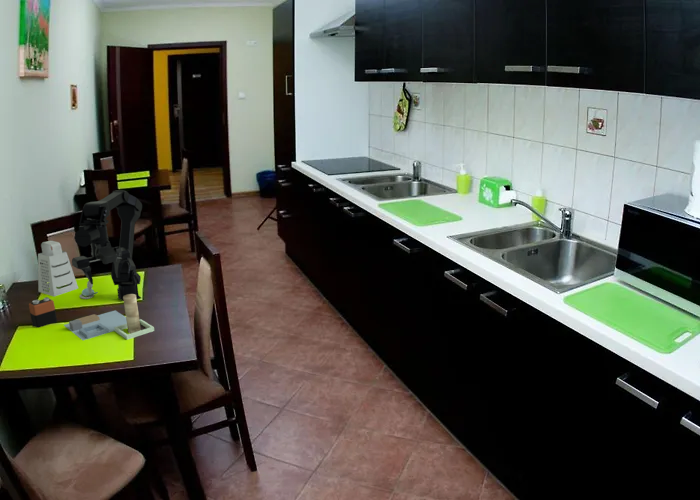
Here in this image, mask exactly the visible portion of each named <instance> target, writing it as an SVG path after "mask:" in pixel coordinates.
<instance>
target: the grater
mask: <svg viewBox="0 0 700 500" xmlns="http://www.w3.org/2000/svg"><path fill="white" fill-rule="evenodd" d="M40 247H41V252H40V253H38V254H37V260H38V261H37V263H38V264H37V270H38V272H37V273H38V279H37V280H38V285H37V286H38V293H41V294H45V295H49V296H50V297H51V296H52V297H56V296H60V295H63V294H66V293H68V292H71V291H75V290H77V289H79V286H78V283H77V280H76V277H75V275H74V270H73V267H72V263H71V261H70V259H69V256H68V251H65V250H63V249H62V244H61V243H60V242H59V241H54V240H48V241H43V242H42V243H40ZM63 286H64V287H63Z"/></svg>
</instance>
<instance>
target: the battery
mask: <svg viewBox="0 0 700 500" xmlns="http://www.w3.org/2000/svg"><path fill="white" fill-rule="evenodd" d="M28 307H29V313H30V319H31V324H32V327H34V328H42V327H45V326H48V325H51V324H55V323H57V322H58V320H57V319H58V318H57V313H56V308H55V307H56V306H55V303H54V300H53V299H51V298H49V297H44V298H43V299H40V300H39V299H34V300H32V302H30V303H28Z"/></svg>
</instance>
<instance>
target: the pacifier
mask: <svg viewBox="0 0 700 500" xmlns="http://www.w3.org/2000/svg"><path fill="white" fill-rule="evenodd" d="M86 285H87V286H86V288H84V289H82V291H81V294H79V298H80V299H83V300H88V299H91V298H94V296H95V295H97V294H98V291H96V292H95V291H94V289H93V287H94V283H93V284H91V283H90V281H89V280H88V281H87V283H86Z"/></svg>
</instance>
